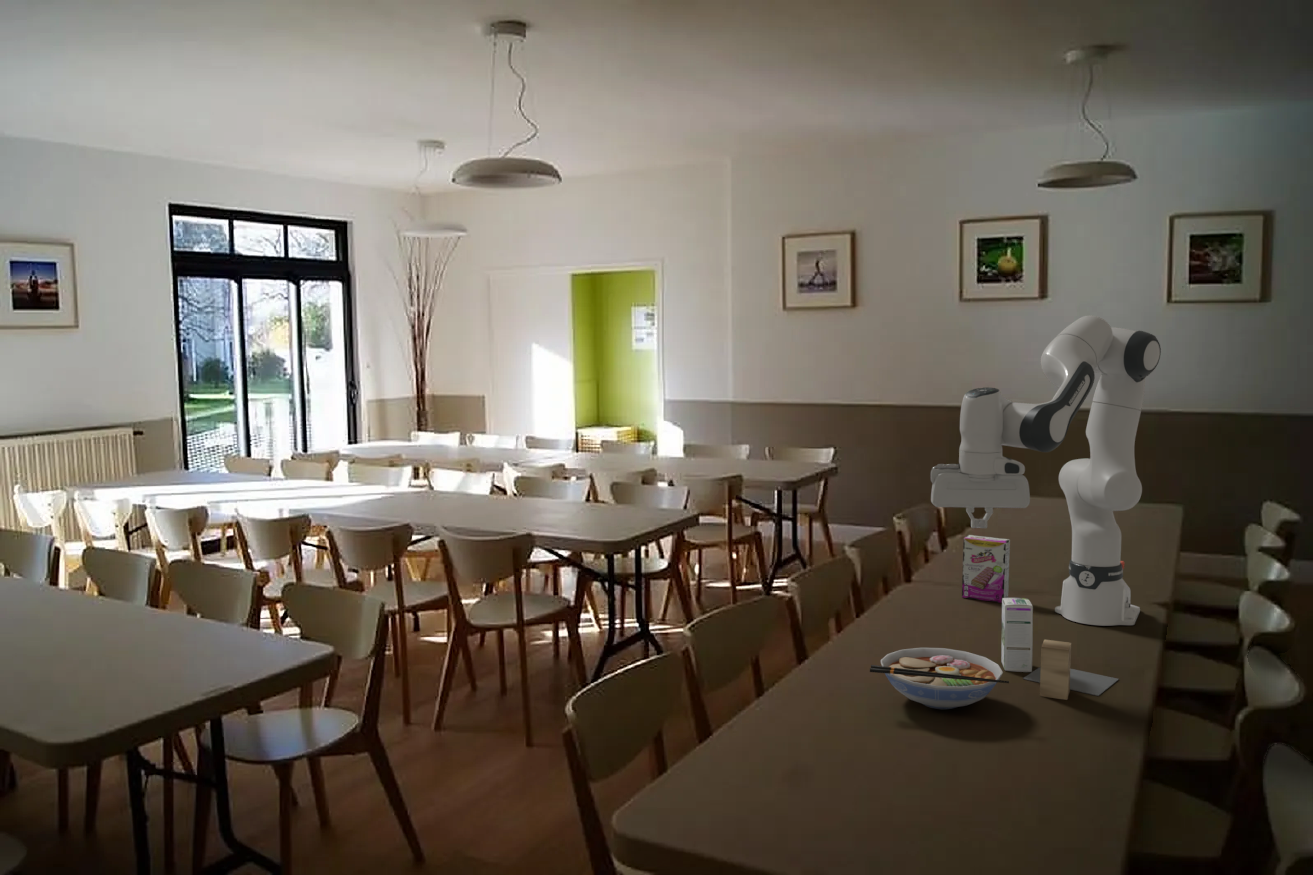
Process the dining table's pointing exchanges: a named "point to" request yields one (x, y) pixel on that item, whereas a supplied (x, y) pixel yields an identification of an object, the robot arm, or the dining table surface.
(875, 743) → the dining table surface
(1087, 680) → the rubber mat
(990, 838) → the dining table surface
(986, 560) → the candy bar box
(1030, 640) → the syrup box
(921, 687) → the ramen bowl
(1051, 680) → the oak block
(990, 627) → the dining table surface
